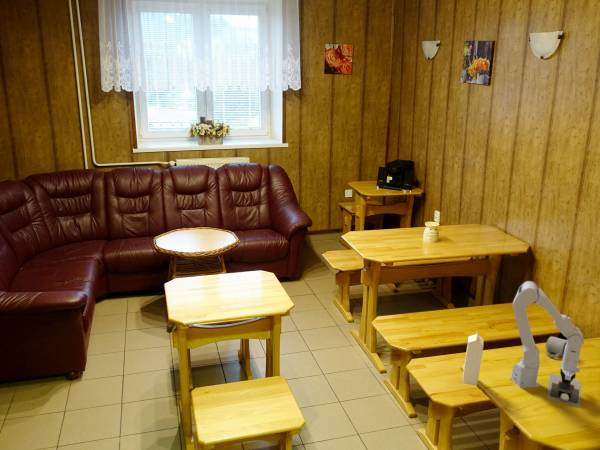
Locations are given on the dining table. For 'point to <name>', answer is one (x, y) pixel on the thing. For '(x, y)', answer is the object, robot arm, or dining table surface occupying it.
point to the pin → (565, 395)
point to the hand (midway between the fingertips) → (564, 387)
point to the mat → (556, 380)
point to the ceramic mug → (555, 346)
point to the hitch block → (565, 388)
